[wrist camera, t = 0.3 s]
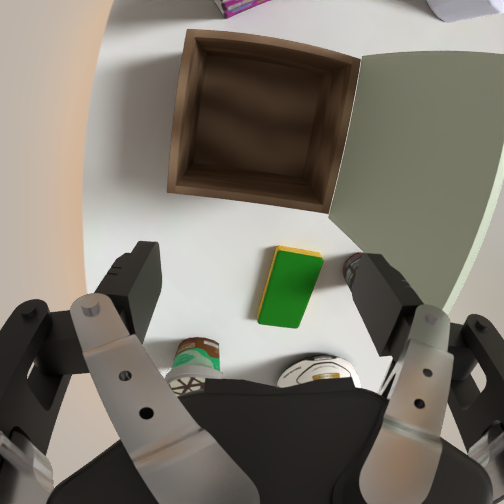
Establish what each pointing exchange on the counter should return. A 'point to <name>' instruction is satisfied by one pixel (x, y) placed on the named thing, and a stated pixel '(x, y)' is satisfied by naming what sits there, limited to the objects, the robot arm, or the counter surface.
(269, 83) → the walnut box
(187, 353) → the food container
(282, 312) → the dish sponge
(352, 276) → the supplement bottle
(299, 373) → the milk container
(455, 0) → the soap bottle
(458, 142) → the lid
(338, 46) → the counter surface
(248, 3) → the candy bar box
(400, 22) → the counter surface
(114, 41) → the counter surface
